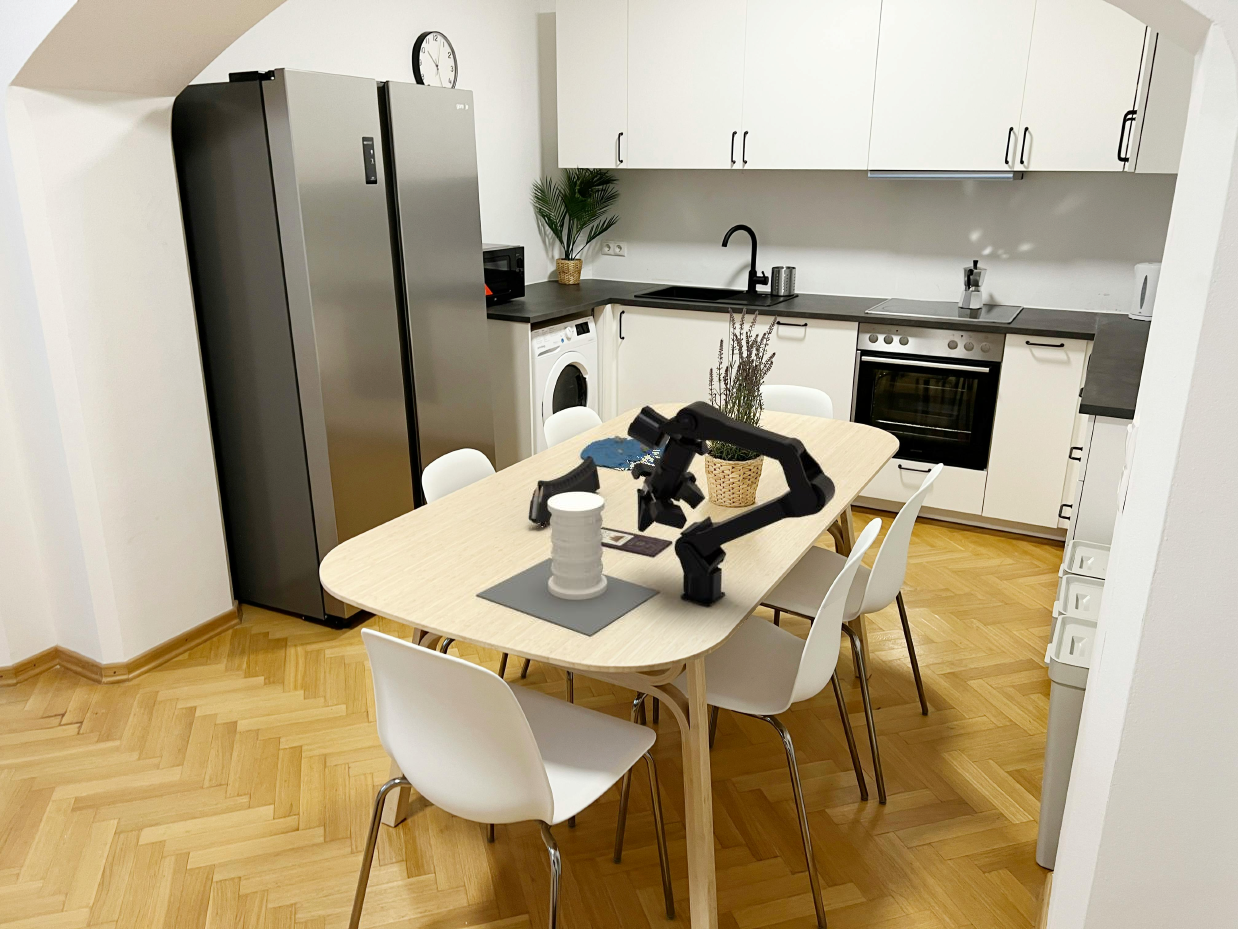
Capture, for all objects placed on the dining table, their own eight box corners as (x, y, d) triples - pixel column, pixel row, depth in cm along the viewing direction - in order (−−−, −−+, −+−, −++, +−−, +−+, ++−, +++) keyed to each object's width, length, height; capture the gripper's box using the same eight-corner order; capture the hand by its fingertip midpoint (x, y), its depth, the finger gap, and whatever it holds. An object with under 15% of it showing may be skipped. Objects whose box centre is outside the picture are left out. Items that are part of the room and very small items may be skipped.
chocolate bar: (653, 555, 190) (581, 540, 199) (653, 559, 191) (581, 543, 199) (672, 541, 198) (602, 526, 206) (672, 545, 198) (602, 530, 207)
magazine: (593, 455, 232) (535, 452, 204) (604, 457, 230) (547, 453, 203) (585, 521, 232) (526, 526, 205) (596, 523, 231) (538, 528, 204)
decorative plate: (702, 465, 259) (703, 448, 257) (612, 481, 244) (613, 463, 242) (649, 438, 283) (649, 422, 281) (564, 450, 268) (564, 433, 266)
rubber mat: (659, 592, 174) (659, 590, 174) (590, 636, 157) (590, 635, 157) (549, 559, 190) (549, 557, 190) (476, 595, 173) (475, 594, 173)
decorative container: (606, 574, 181) (605, 490, 176) (607, 599, 170) (606, 511, 165) (549, 575, 181) (547, 491, 176) (546, 600, 170) (544, 512, 165)
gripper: (726, 499, 162) (690, 567, 168) (696, 450, 178) (664, 514, 184) (673, 484, 158) (637, 555, 164) (647, 435, 174) (615, 501, 179)
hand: (640, 530), depth 173 cm, fingers closed
